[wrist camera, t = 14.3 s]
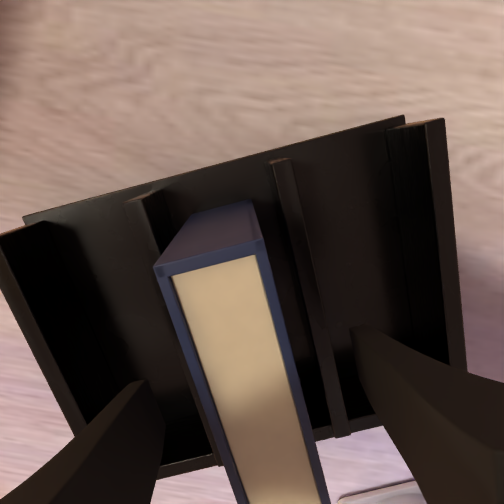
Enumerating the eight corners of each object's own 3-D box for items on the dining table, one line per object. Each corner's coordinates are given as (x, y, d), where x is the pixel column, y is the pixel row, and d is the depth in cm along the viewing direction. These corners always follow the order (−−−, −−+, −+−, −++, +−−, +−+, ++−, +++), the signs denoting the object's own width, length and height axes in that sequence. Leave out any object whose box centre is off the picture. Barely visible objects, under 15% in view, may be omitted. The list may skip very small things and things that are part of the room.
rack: (426, 358, 21) (476, 412, 16) (129, 431, 21) (102, 502, 17) (395, 116, 17) (450, 103, 12) (33, 213, 17) (-35, 233, 13)
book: (295, 371, 19) (333, 514, 12) (243, 383, 19) (248, 534, 12) (250, 198, 17) (263, 237, 9) (191, 214, 17) (152, 266, 9)
